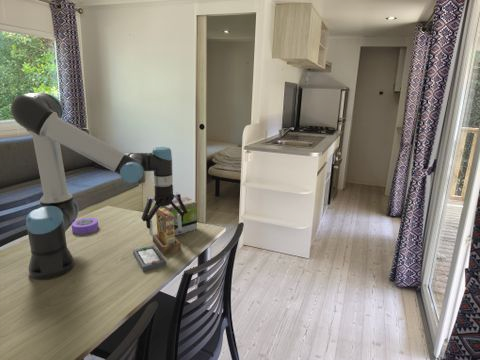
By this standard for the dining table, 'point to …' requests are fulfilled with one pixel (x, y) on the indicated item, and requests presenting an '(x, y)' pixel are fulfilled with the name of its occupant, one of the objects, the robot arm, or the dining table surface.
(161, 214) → the candy box
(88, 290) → the dining table surface
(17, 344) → the dining table surface
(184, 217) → the tea box
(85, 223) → the masking tape
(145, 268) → the base
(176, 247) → the trough
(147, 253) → the grey rectangular panel
